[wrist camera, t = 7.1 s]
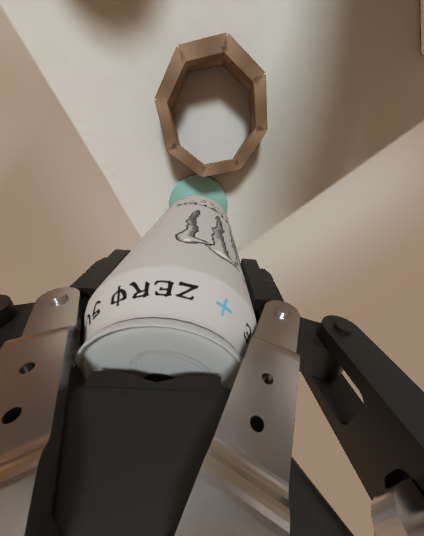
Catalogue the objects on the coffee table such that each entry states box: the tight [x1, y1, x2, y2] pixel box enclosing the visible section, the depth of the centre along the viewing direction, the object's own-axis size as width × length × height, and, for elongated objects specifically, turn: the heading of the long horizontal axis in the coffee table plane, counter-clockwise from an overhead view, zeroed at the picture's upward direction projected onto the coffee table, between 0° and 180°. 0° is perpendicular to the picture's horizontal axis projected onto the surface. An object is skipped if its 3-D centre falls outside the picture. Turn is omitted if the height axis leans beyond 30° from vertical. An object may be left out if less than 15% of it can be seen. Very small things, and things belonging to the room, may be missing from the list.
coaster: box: [169, 175, 227, 213], centre depth 24 cm, size 7×7×1 cm
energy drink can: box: [73, 195, 257, 391], centre depth 12 cm, size 6×6×15 cm
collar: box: [155, 33, 267, 177], centre depth 19 cm, size 10×10×2 cm
